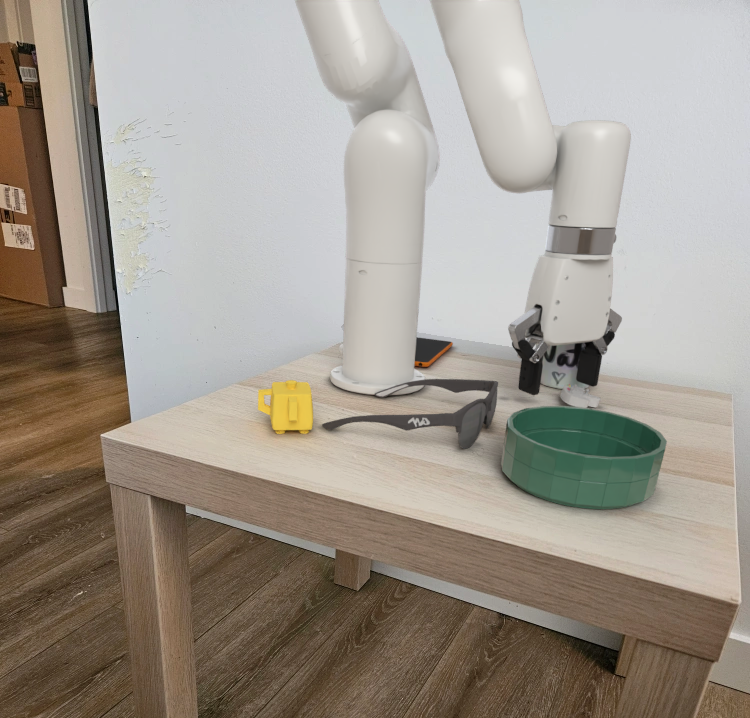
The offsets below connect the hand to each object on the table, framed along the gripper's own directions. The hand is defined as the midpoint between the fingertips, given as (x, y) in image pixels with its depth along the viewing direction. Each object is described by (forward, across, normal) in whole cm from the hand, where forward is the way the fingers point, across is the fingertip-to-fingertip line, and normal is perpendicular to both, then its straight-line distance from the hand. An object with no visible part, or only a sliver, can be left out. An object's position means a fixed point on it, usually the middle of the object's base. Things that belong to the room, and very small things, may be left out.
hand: (557, 387), depth 85 cm
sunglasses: (+2, +22, +1) cm, 22 cm away
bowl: (+2, +16, +20) cm, 25 cm away
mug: (+2, -10, -8) cm, 13 cm away
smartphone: (+2, +4, -27) cm, 28 cm away
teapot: (+2, +36, -3) cm, 36 cm away
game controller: (+2, 0, 0) cm, 2 cm away
